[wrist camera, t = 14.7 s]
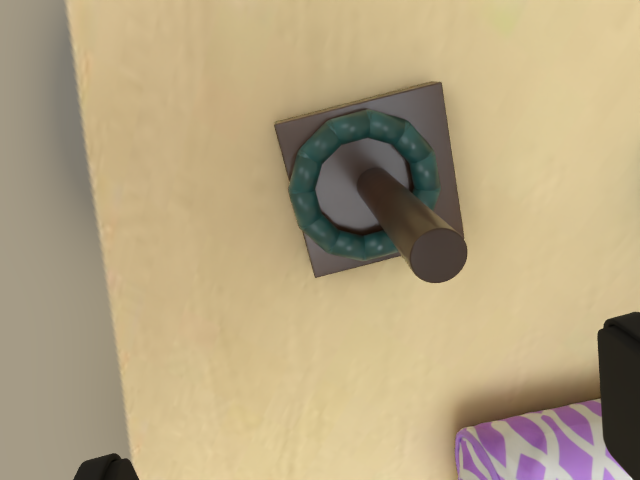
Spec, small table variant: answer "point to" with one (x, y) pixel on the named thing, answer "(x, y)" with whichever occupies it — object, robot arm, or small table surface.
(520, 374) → the small table surface
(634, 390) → the robot arm
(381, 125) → the ring
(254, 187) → the small table surface
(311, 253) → the stand
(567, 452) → the pencil case
